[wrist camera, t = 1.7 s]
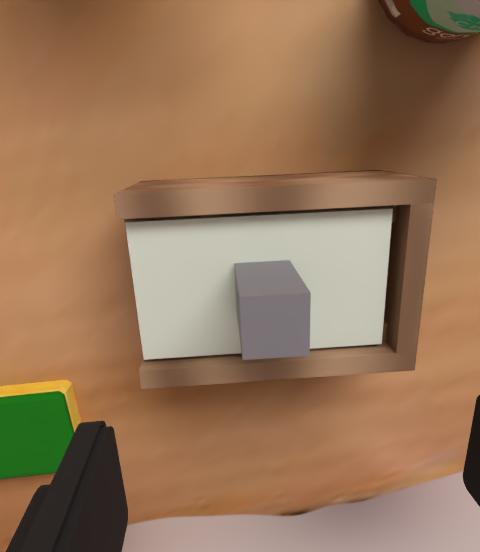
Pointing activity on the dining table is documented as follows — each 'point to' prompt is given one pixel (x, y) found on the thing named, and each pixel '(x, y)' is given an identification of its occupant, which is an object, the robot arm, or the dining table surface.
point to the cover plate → (207, 285)
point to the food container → (435, 18)
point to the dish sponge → (35, 427)
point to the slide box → (302, 197)
